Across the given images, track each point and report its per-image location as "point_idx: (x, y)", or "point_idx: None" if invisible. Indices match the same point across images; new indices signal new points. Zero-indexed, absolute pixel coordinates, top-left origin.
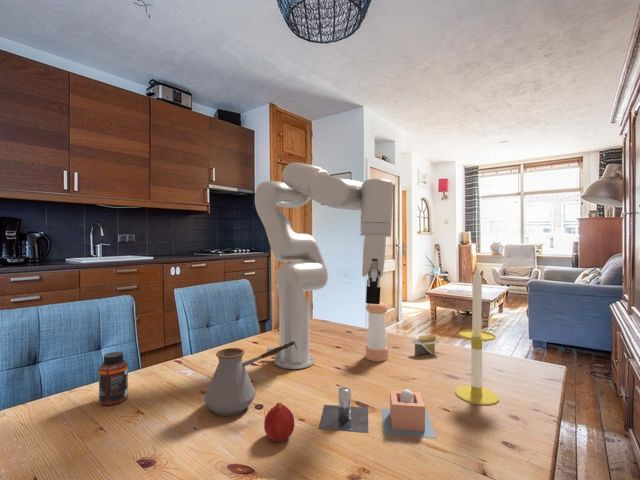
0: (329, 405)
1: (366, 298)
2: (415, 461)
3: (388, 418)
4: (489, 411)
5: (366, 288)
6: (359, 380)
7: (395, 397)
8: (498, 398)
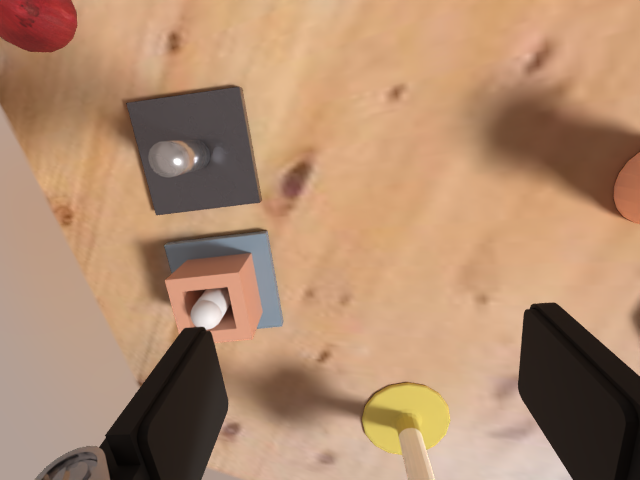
0: (239, 102)
1: (171, 349)
2: (126, 295)
3: (227, 250)
4: (338, 427)
5: (119, 416)
6: (442, 152)
7: (203, 286)
8: (396, 453)
